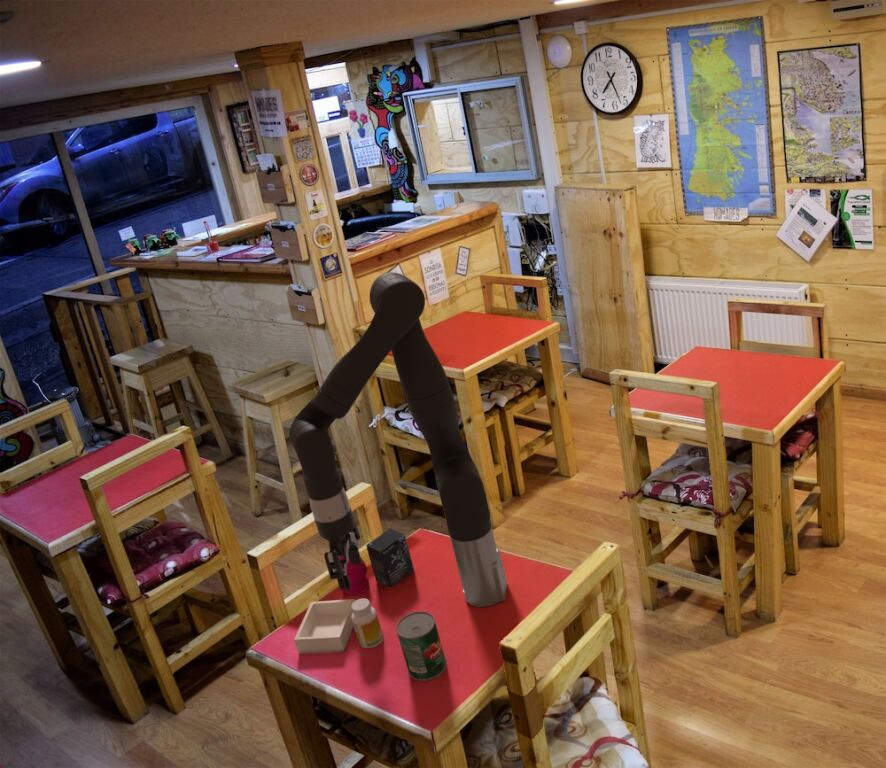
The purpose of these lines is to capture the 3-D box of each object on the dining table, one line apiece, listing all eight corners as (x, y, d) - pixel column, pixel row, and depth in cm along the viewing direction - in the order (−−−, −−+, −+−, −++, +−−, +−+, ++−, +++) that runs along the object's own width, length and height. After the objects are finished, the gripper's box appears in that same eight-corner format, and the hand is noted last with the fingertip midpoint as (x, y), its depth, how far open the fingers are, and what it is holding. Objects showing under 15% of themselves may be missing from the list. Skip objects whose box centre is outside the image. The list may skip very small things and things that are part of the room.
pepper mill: (373, 575, 211) (352, 505, 203) (368, 594, 205) (346, 522, 197) (344, 579, 212) (322, 509, 204) (338, 598, 206) (316, 526, 198)
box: (391, 589, 205) (380, 551, 201) (375, 581, 209) (364, 544, 205) (415, 570, 209) (405, 533, 205) (399, 563, 213) (389, 527, 209)
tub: (358, 613, 199) (354, 599, 197) (344, 651, 188) (339, 637, 186) (315, 615, 202) (311, 601, 200) (299, 654, 190) (294, 639, 189)
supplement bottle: (388, 633, 191) (377, 597, 187) (376, 650, 186) (365, 613, 182) (366, 630, 193) (355, 594, 189) (354, 647, 189) (343, 611, 185)
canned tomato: (407, 658, 182) (395, 615, 178) (444, 649, 182) (433, 607, 178) (409, 685, 175) (396, 641, 170) (448, 676, 175) (436, 632, 170)
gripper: (339, 529, 169) (360, 597, 176) (358, 489, 182) (376, 554, 188) (303, 532, 171) (324, 599, 178) (324, 492, 184) (343, 556, 190)
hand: (351, 575), depth 183 cm, fingers open, 8 cm apart
